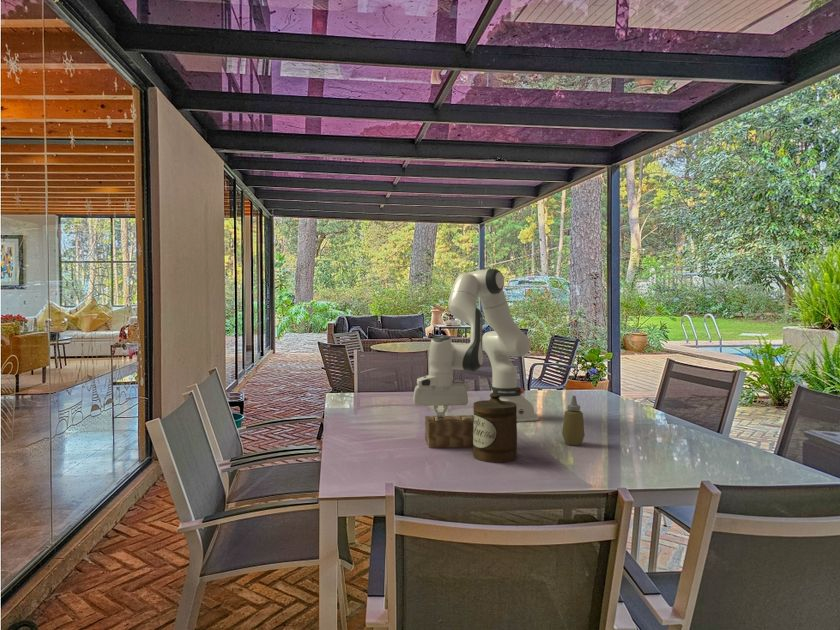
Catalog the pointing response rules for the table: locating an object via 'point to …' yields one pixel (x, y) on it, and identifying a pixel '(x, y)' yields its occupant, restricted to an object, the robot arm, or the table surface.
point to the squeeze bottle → (573, 424)
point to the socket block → (449, 432)
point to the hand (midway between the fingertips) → (440, 417)
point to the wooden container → (495, 430)
